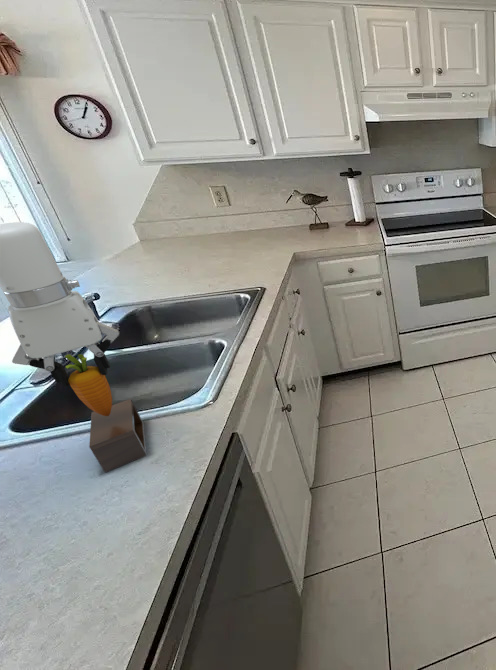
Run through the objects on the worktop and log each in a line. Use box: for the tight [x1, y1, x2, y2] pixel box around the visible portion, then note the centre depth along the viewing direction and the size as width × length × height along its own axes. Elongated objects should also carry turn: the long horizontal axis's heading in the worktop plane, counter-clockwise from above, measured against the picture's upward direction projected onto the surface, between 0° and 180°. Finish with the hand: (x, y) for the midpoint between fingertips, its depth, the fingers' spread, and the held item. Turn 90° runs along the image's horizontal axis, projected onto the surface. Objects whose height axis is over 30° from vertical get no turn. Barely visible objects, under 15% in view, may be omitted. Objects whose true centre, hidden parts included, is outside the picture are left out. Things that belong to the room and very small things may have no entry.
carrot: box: [64, 353, 113, 416], centre depth 81 cm, size 5×5×15 cm
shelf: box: [88, 398, 147, 474], centre depth 87 cm, size 13×7×7 cm, turn 41°
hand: (86, 376), depth 80 cm, fingers closed on carrot, 4 cm apart
